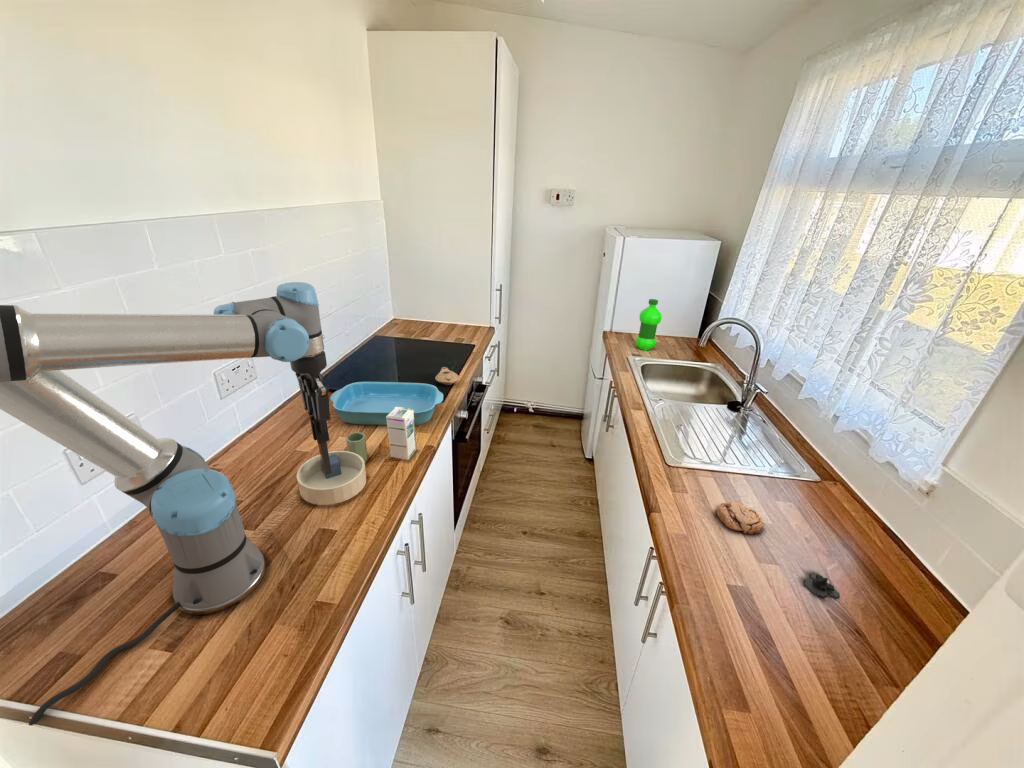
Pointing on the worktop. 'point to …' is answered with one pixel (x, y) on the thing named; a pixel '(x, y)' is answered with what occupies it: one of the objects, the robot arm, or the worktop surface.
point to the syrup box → (401, 432)
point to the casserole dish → (384, 401)
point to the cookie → (739, 517)
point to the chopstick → (324, 457)
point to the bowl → (332, 479)
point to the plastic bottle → (648, 326)
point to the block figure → (820, 586)
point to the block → (333, 467)
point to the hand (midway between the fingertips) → (321, 439)
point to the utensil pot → (357, 444)
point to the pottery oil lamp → (446, 376)
